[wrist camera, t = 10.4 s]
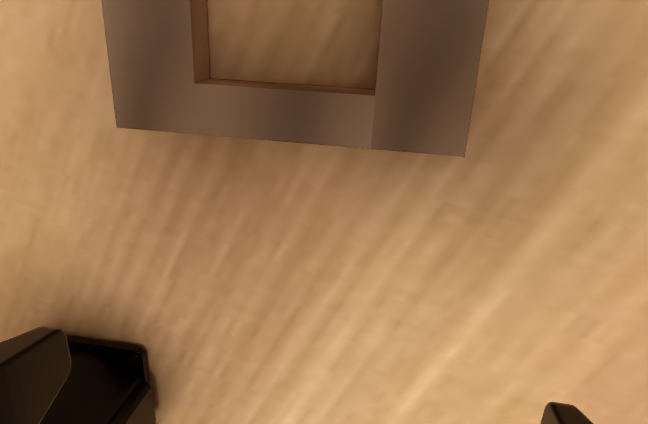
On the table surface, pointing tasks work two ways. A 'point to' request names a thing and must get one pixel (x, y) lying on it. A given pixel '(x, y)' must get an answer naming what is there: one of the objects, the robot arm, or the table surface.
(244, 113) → the board
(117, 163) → the table surface
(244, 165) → the table surface
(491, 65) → the table surface
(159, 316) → the table surface
